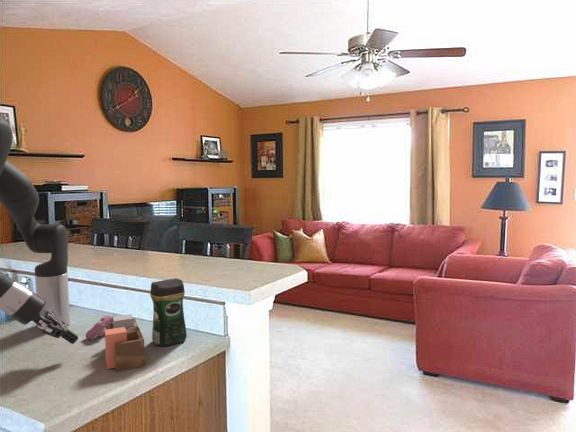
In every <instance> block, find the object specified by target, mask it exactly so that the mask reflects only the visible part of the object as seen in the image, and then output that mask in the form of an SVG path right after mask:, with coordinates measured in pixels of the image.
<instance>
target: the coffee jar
mask: <svg viewBox="0 0 576 432" xmlns="http://www.w3.org/2000/svg"><path fill="white" fill-rule="evenodd" d="M184 286H185V284H184V281H183V280H181V279H180V278H177V277H176V278H175V277H174V278H170V279H163V280H158V281H152V282H151V284H150V291H149V292H150V294H149V295H150V298H151V300H152V306H153V317H152V332H151V338H152V339H151V340H152V342H153V343H154V344H155V345H156V346H161V347H165V346H167V347H168V346H170V345H174V344H178V343H181V342H184V341H185V340H186V339H187V337H188V335H187V328H186V320H185V313H184V297H185V291H186V290H185V287H184Z"/></svg>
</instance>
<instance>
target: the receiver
mask: <svg viewBox="0 0 576 432" xmlns="http://www.w3.org/2000/svg"><path fill="white" fill-rule="evenodd" d="M109 325H110V329H113V322H109ZM125 329H126V332H127V341H126V342H120V343H115V356H116V368H115V370H116V372H120V371H126V370H131V369H134V368H141V367H145V366H146V351H145V350H146V348H145V338H144V336H143V334H142V332H141V329H140V327H139V325H138V323H137V320H136V318H133V327H130V328H125Z"/></svg>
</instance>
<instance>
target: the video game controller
mask: <svg viewBox="0 0 576 432" xmlns="http://www.w3.org/2000/svg"><path fill="white" fill-rule="evenodd" d="M114 316H115V315H114V314H113V315H112V314H109V315H104V316H102V317H101V319H99V320H98V321H97V322H96V323H95V324H94V325H93V326H92V327H91V328H90V329H89V330H87V332H86V333H85V338H86V339H87V340H91V339H94V338H96V337H97V336H98V337H99V338H100V337H103V336H105V330H107V329H110V325H109V322H113V317H114Z"/></svg>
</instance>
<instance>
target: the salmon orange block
mask: <svg viewBox="0 0 576 432" xmlns="http://www.w3.org/2000/svg"><path fill="white" fill-rule="evenodd" d="M126 341H127V332H126V329H125V327H121V328H114V329H107V330H105V333H104V347H105V348H104V349H105V365H106V370H109V369H116V356H115V343H120V342H126Z"/></svg>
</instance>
